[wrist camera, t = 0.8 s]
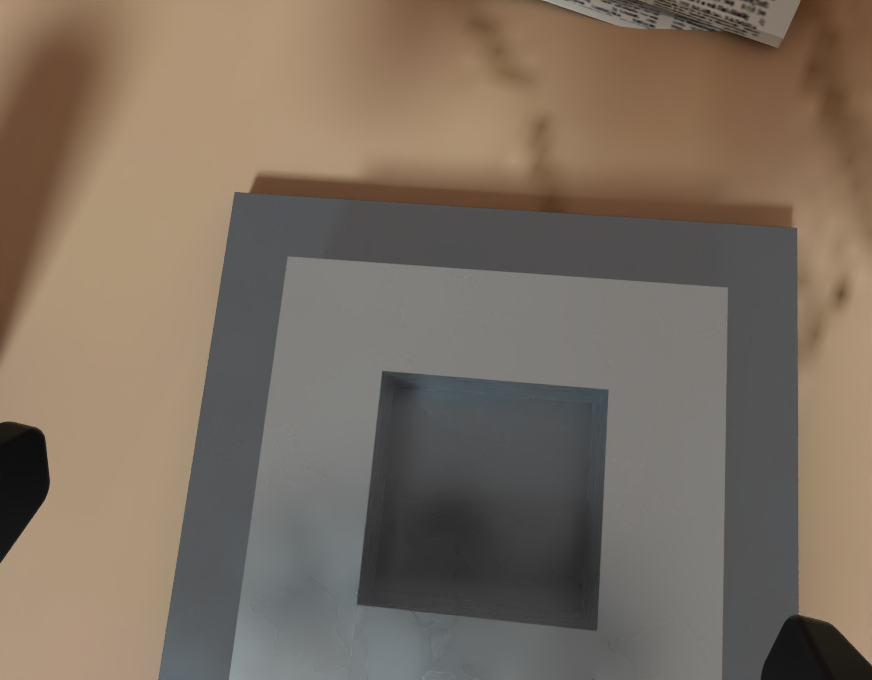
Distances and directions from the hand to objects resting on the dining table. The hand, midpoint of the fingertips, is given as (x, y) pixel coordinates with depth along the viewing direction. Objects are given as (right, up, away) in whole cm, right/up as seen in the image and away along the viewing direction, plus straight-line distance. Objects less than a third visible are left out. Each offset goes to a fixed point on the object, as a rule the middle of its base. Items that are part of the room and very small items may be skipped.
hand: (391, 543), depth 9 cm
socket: (+2, -2, +14) cm, 15 cm away
